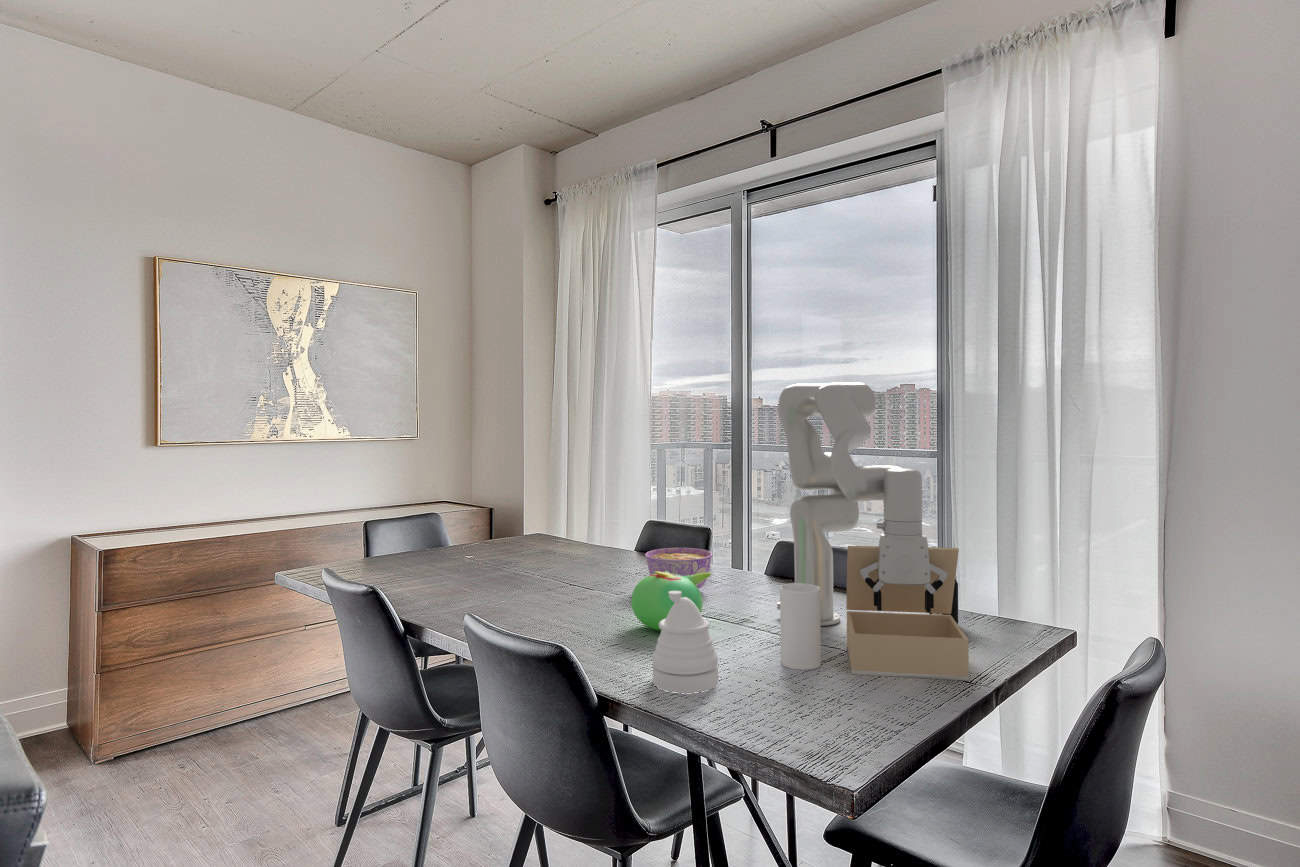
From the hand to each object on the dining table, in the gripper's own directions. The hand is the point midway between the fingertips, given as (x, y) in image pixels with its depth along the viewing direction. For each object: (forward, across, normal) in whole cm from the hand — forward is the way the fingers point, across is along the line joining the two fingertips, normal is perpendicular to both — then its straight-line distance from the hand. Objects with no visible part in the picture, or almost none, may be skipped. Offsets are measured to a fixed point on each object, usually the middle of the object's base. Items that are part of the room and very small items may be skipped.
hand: (903, 610), depth 153 cm
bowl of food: (+12, -57, +55) cm, 80 cm away
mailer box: (+11, 0, +1) cm, 11 cm away
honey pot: (+12, -43, -18) cm, 48 cm away
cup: (+11, -21, -3) cm, 24 cm away
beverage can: (+12, +13, +31) cm, 35 cm away
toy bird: (+12, -53, +17) cm, 57 cm away
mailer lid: (-5, 0, +5) cm, 7 cm away
